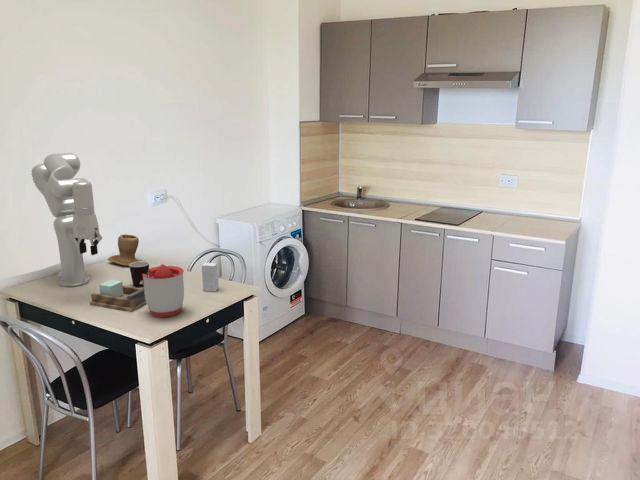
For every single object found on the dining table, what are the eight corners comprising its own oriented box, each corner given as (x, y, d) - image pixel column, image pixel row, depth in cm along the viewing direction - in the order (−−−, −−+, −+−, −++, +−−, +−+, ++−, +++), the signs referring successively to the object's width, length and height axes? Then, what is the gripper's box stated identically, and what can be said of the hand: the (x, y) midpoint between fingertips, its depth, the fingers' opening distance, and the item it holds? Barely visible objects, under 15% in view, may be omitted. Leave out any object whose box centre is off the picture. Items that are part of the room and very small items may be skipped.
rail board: (89, 304, 221) (88, 290, 219) (116, 292, 235) (115, 278, 234) (131, 312, 214) (130, 297, 212) (156, 298, 228) (155, 284, 227)
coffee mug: (144, 289, 240) (142, 267, 237) (127, 287, 241) (125, 266, 239) (157, 280, 251) (155, 260, 248) (140, 279, 252) (138, 258, 250)
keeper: (100, 298, 224) (99, 284, 223) (112, 292, 230) (110, 279, 229) (112, 300, 222) (110, 286, 221) (123, 294, 228) (122, 281, 227)
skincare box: (218, 288, 241) (217, 263, 238) (215, 291, 237) (214, 266, 234) (205, 287, 242) (204, 262, 239) (202, 291, 238) (201, 265, 235)
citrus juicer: (150, 303, 223) (147, 257, 218) (191, 305, 221) (188, 259, 216) (134, 318, 208) (130, 269, 203) (177, 320, 206) (174, 271, 201)
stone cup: (145, 263, 277) (142, 235, 273) (124, 268, 267) (122, 239, 263) (127, 258, 285) (125, 230, 281) (107, 263, 276) (104, 235, 272)
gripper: (61, 211, 220) (66, 253, 224) (94, 214, 214) (98, 258, 219) (75, 207, 227) (79, 249, 231) (107, 211, 221) (111, 253, 226)
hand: (88, 253), depth 225 cm, fingers open, 5 cm apart
